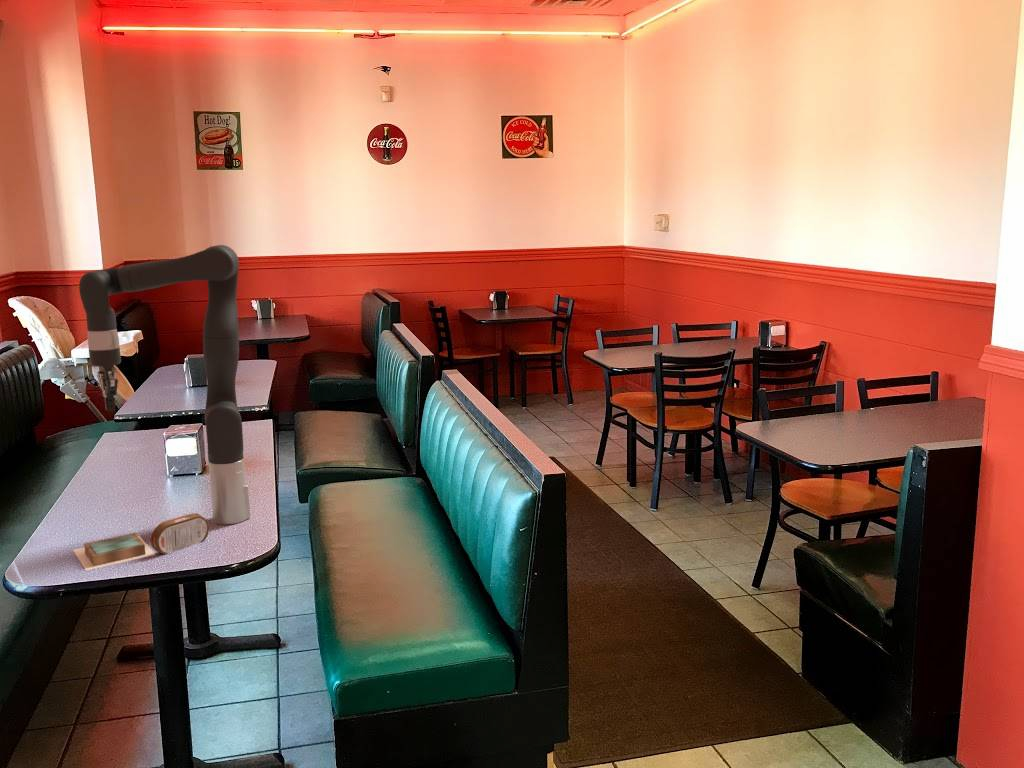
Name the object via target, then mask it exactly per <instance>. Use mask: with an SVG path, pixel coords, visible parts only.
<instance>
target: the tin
mask: <svg viewBox="0 0 1024 768" xmlns="http://www.w3.org/2000/svg"><path fill="white" fill-rule="evenodd" d="M209 524H210V523H209V521H208V520H207V519H206V518H205V517H204V516H202V515H201V514H199V513H196V512H193V513H188V514H185V515H182V516H178V517H175V518H172V519H171V518H170V519H168V520H165V521H162V522H161V523H159V524H158V525H157V526H156V527H154V529H153V530H152V531H153V532H152V533H151V537H150V544H151V547H152V548H153V550H154V551H156V552H157V553H161V554H162V555H168V554H170V553H174V552H176V551H179V550H183V549H185V548H189V547H192V546H194V545H197V544H200V543H204V541H205V540H206V539H207V537H208V535H209V530H210V525H209Z"/></svg>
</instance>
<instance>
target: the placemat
mask: <svg viewBox="0 0 1024 768" xmlns="http://www.w3.org/2000/svg"><path fill="white" fill-rule="evenodd" d="M137 537H138V538H139V539H140V540H141V541H142V542H143V544H144V545H145V555H140V556H136V557H131V558H127V559H123V560H118V561H114V562H110V563H105V564H101V565H96V566H93V564H92V563H91V561H90V560H89V558H88V557H87V555H86V554H85V549H84V546H83V547H79V548H75V549H72V551H73V552H74V554H75V555H76V557H77V559H78V560H79V562H80V563H81V565H82V566H83V568H84V570H85V571H91V570H95V569H99V568H103V567H108V566H112V565H116V564H120V563H125V562H129V561H133V560H138V559H142V558H143V559H144V558H147V557H151V556H155V555H156V553H155V551H153V550H152V548H151V547H150V546H149V545H148V544H147V542H145V541H144V539H143V538H142V537H141V535H137Z"/></svg>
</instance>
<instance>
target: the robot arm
mask: <svg viewBox="0 0 1024 768" xmlns="http://www.w3.org/2000/svg"><path fill="white" fill-rule="evenodd" d="M239 270H240V259H239V256H238V255H237V253H236V252H235V250H234V249H232V248H231V247H230V246H228V245H224V244H217V245H212V246H209V247H207V248H205V249H204V250H200V251H197V252H196V253H191V254H189V255H186V256H182V257H178V258H171V259H170V258H169V259H163V260H153V261H152V260H151V261H145V262H139V263H132V264H127V265H123V266H121V267H113V268H112V267H111V268H104V269H98V270H94V271H89V272H86V273H84V274H83V275H82V276H81V278H80V279H79V284H78V290H79V291H78V292H79V295H80V300H81V303H82V305H83V308H84V309H83V310H84V313H85V315H86V317H85V318H86V327H87V347H88V354H89V355H88V356H89V357H88V358H89V365H91V366H92V367H98V371H97V373H96V374H97V375H96V376H97V379H98V384H99V388H100V392H101V394H102V396H103V398H104V407H105V410H106V411H107V412H113V411H114V412H115V411H116V401H115V397H116V396H117V395H118V394H117V393H118V386H119V385H118V383H119V380H118V379H117V377H118V375H117V371H116V370H115V369H114V366H117V365H119V364H121V362H122V357H121V355H122V354H121V346H120V338H119V334H118V329H117V318H116V313H115V309H114V308H112V307H111V303H110V298H109V296H113V295H118V294H123V293H135V292H140V291H146V290H152V289H156V288H162V287H164V286H169V285H174V284H178V283H182V282H183V283H185V282H199V281H200V282H201V281H203V282H204V281H207V291H208V298H207V299H208V300H207V306H206V311H205V316H204V320H203V327H202V348H203V349H202V350H203V351H202V352H203V360H204V363H203V364H204V369H205V375H206V387H207V389H206V402H205V410H204V422H205V423H204V424H205V431H206V432H205V433H206V442H207V443H206V444H207V461H208V470H209V473H208V474H209V484H210V496H211V509H212V520H213V523H215V524H219V525H233V524H234V525H235V524H238V523H242V522H244V521H245V520H247V519H251V506H250V494H249V493H250V492H249V485H247V484H246V473H245V460H244V459H245V458H244V436H243V435H244V434H243V421H242V416H241V414H240V411H239V407H238V401H237V391H236V376H237V370H238V366H239V365H238V364H239V357H240V330H239V329H240V328H239V313H238V303H237V300H238V299H237V290H238V280H239V279H238V278H239Z"/></svg>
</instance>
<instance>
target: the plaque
mask: <svg viewBox="0 0 1024 768" xmlns="http://www.w3.org/2000/svg"><path fill="white" fill-rule="evenodd" d="M137 536H138V535H137V534H136V533H135V532H134V533H128V534H125V535H119V536H115V537H111V538H105V539H99V540H96V541H91V542H86V543H84V544H83V547H84V549H85V554H86V555H87V557H88V558H89V560H90V561H91V563H92V564H93V566H96V565H101V564H105V563H110V562H114V561H118V560H123V559H127V558H131V557H136V556H140V555H145V545H144V544H143V542H142V541H141V540H140V539H139V538H138V537H137Z"/></svg>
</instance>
